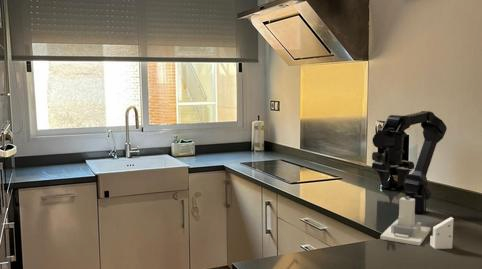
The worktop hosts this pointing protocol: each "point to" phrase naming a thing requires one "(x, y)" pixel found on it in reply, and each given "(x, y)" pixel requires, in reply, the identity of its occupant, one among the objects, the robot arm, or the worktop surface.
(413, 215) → the block
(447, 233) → the white angled block
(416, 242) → the rail mount
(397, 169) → the robot arm
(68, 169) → the worktop surface
